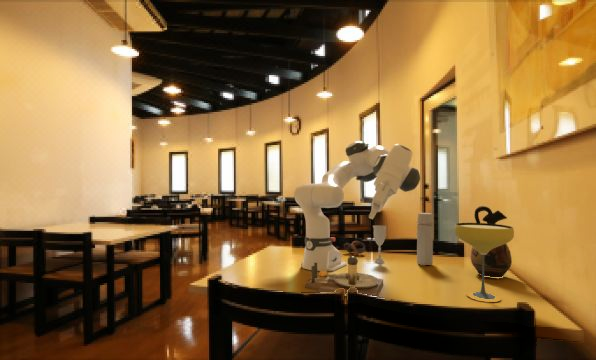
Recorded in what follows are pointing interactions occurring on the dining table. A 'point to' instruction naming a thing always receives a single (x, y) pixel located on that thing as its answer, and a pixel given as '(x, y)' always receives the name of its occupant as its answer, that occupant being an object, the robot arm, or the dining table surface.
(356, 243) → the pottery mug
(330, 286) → the stand
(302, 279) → the dining table surface
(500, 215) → the ceramic jug
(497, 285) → the dining table surface
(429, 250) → the water bottle
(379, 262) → the chalice
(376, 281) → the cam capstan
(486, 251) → the cocktail glass
